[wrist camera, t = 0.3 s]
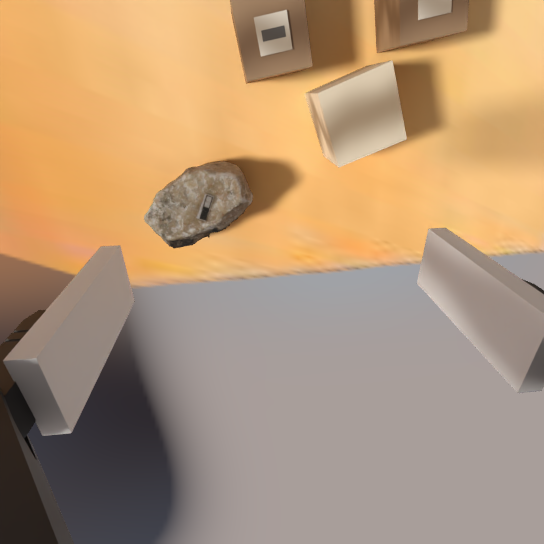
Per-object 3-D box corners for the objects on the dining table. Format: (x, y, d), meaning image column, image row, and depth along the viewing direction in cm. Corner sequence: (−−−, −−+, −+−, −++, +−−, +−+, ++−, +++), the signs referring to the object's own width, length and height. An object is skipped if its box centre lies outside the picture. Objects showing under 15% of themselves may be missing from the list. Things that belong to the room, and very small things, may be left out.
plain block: (304, 93, 37) (317, 93, 31) (366, 66, 36) (392, 60, 30) (323, 155, 40) (338, 167, 34) (380, 131, 39) (406, 139, 33)
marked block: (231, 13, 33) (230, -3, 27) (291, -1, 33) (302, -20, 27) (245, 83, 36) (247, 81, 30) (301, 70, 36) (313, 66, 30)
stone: (260, 190, 41) (261, 205, 35) (185, 247, 44) (173, 271, 37) (221, 139, 38) (215, 146, 32) (144, 203, 41) (124, 221, 35)
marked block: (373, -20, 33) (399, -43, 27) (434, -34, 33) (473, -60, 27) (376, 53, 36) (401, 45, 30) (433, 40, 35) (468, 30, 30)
